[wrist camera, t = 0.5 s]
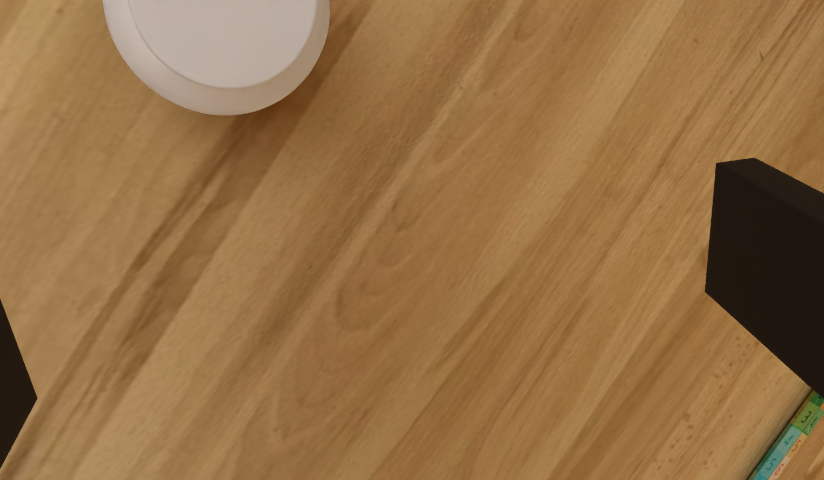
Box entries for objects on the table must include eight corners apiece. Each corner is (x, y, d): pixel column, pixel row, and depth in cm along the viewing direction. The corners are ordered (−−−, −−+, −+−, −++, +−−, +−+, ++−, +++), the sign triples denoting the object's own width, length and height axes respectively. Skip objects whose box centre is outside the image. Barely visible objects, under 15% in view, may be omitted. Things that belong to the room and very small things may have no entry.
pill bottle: (186, 130, 30) (178, 173, 19) (92, -22, 27) (22, -73, 17) (325, 55, 30) (395, 54, 20) (245, -99, 28) (274, -196, 17)
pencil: (711, 548, 43) (891, 300, 42) (723, 561, 42) (908, 306, 41) (697, 541, 43) (879, 289, 42) (709, 553, 42) (896, 295, 41)
